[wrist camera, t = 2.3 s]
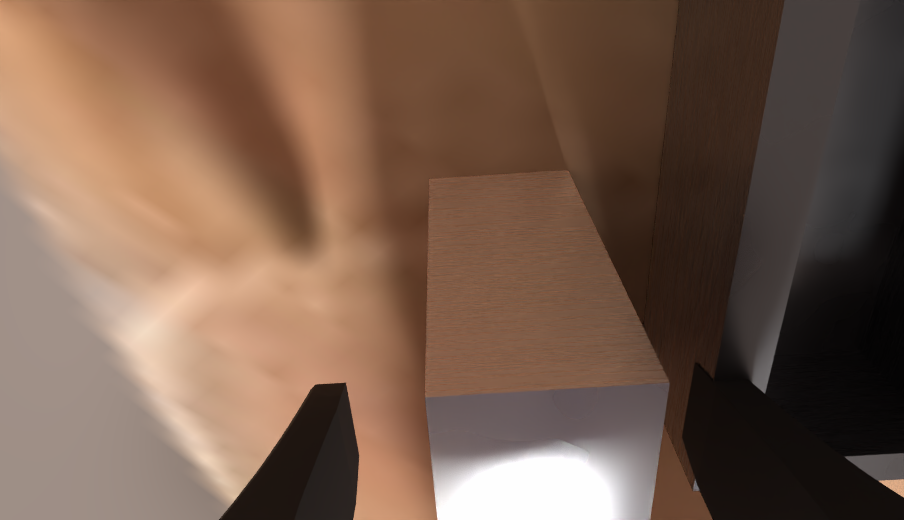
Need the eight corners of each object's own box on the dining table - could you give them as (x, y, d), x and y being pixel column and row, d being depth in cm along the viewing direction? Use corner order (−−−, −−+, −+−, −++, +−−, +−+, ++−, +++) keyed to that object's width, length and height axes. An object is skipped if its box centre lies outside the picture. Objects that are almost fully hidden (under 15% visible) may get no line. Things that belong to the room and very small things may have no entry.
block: (558, 438, 18) (621, 718, 12) (450, 444, 18) (459, 727, 12) (567, 169, 14) (669, 382, 8) (429, 177, 14) (425, 397, 8)
